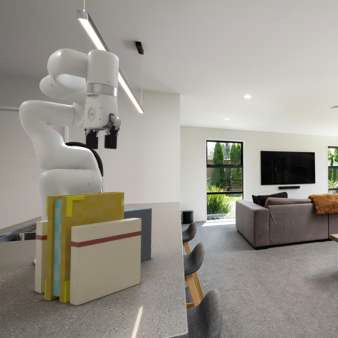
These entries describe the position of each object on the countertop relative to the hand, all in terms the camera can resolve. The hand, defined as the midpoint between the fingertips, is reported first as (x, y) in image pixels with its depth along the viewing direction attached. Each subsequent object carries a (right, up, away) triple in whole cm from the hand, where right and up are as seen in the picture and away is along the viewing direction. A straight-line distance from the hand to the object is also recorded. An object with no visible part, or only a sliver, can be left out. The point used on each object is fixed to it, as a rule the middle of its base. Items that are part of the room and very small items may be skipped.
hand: (100, 148), depth 88 cm
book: (+6, -38, -11) cm, 40 cm away
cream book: (-2, -38, -7) cm, 39 cm away
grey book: (+2, -38, +9) cm, 39 cm away
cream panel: (+12, -38, -14) cm, 42 cm away
